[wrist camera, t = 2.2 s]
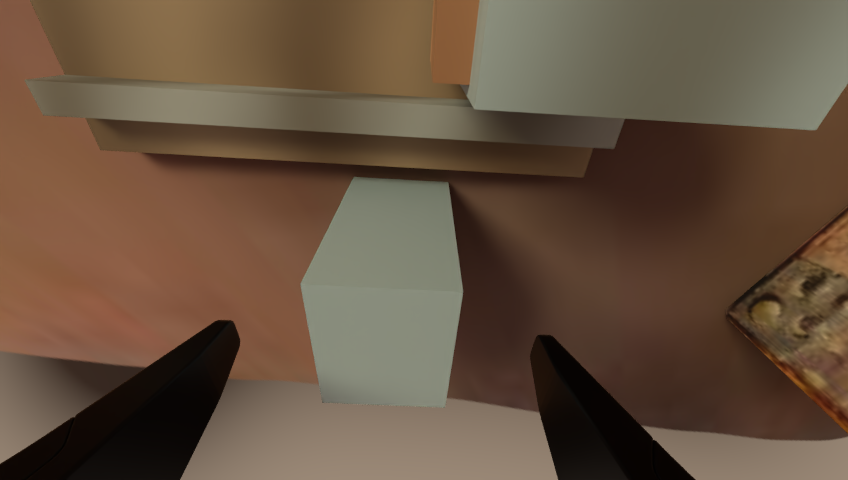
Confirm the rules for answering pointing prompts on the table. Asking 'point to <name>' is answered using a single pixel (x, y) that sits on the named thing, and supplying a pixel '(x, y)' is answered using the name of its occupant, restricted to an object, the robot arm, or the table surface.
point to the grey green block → (386, 295)
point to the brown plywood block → (805, 317)
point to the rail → (433, 75)
